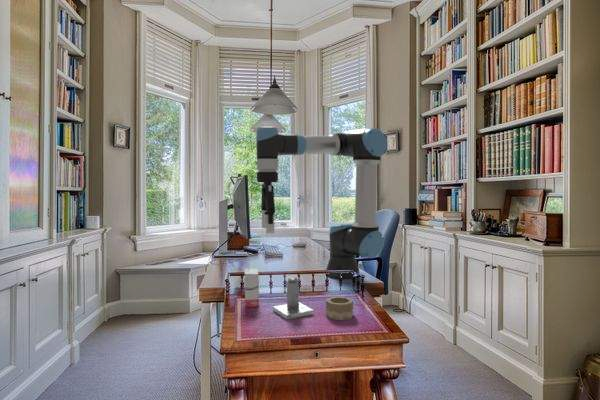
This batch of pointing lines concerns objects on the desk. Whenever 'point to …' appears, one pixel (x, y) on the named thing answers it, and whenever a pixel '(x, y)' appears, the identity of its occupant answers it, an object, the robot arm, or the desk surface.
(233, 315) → the desk surface
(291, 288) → the post
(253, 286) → the ink box
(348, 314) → the collar
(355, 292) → the desk surface
